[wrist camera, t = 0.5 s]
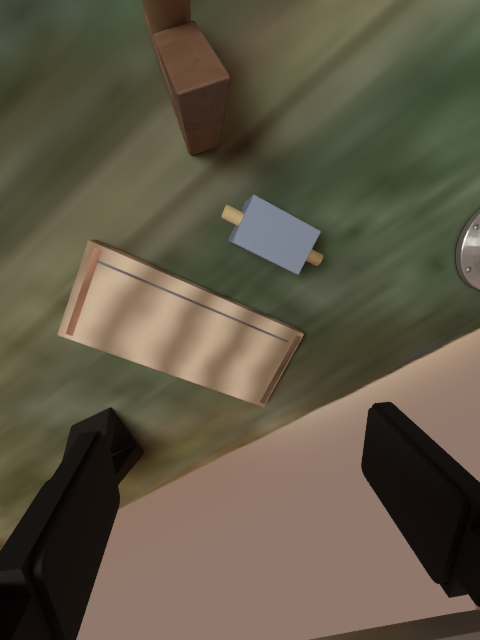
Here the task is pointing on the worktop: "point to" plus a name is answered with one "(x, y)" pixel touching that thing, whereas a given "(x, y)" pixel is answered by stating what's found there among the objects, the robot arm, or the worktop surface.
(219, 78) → the wooden block
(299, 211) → the worktop surface
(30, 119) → the worktop surface
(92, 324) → the maple board
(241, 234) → the grey block on dowel
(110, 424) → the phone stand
